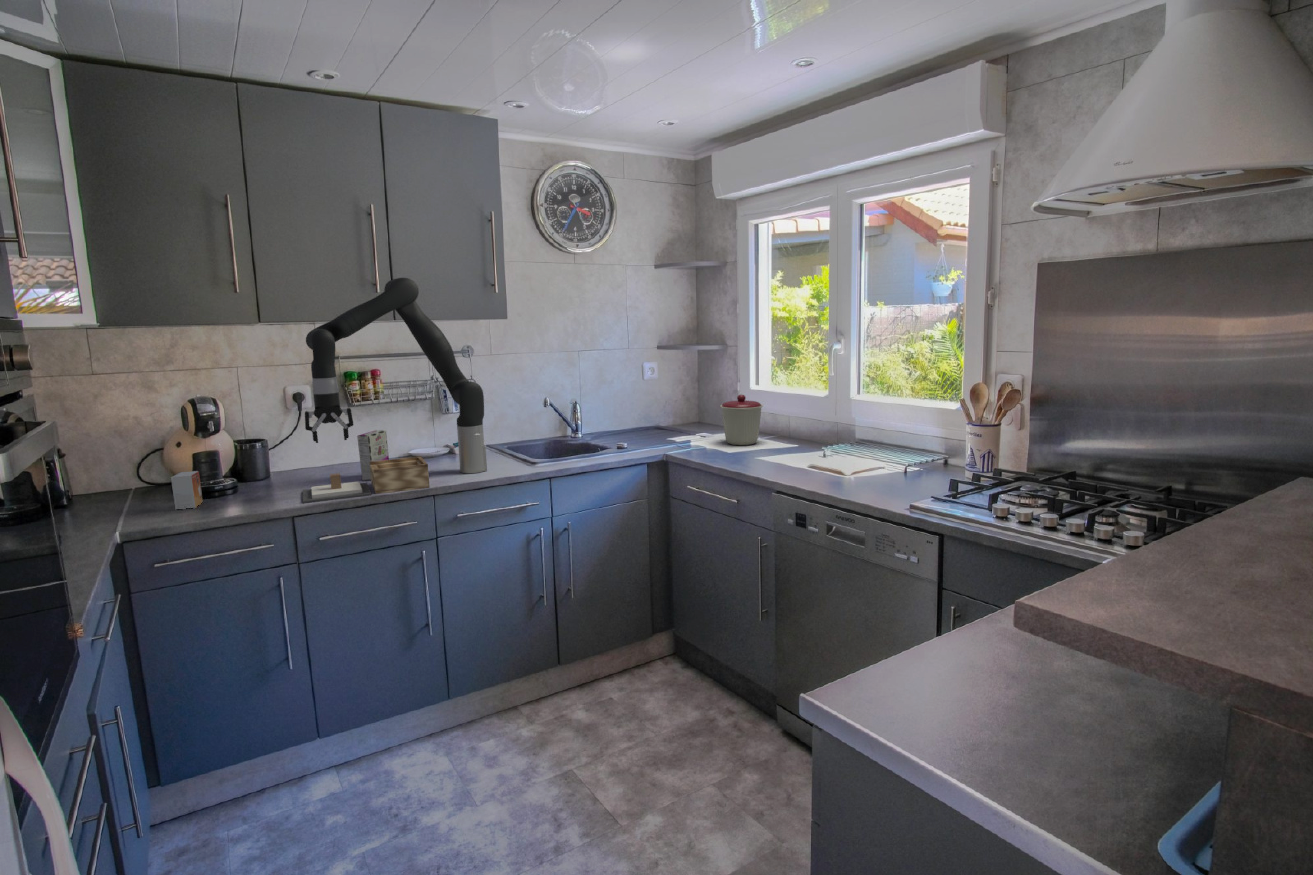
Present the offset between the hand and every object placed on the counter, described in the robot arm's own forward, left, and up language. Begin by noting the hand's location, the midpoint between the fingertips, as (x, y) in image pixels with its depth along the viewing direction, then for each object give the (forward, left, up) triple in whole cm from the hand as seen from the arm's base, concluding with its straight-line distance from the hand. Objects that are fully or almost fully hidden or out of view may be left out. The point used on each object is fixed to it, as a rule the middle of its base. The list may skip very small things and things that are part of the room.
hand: (331, 441), depth 238 cm
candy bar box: (-14, -20, -18) cm, 30 cm away
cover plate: (0, 0, -17) cm, 17 cm away
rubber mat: (0, 0, -17) cm, 17 cm away
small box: (+42, -6, -18) cm, 46 cm away
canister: (-160, -5, -18) cm, 161 cm away
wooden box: (-20, 0, -17) cm, 26 cm away
